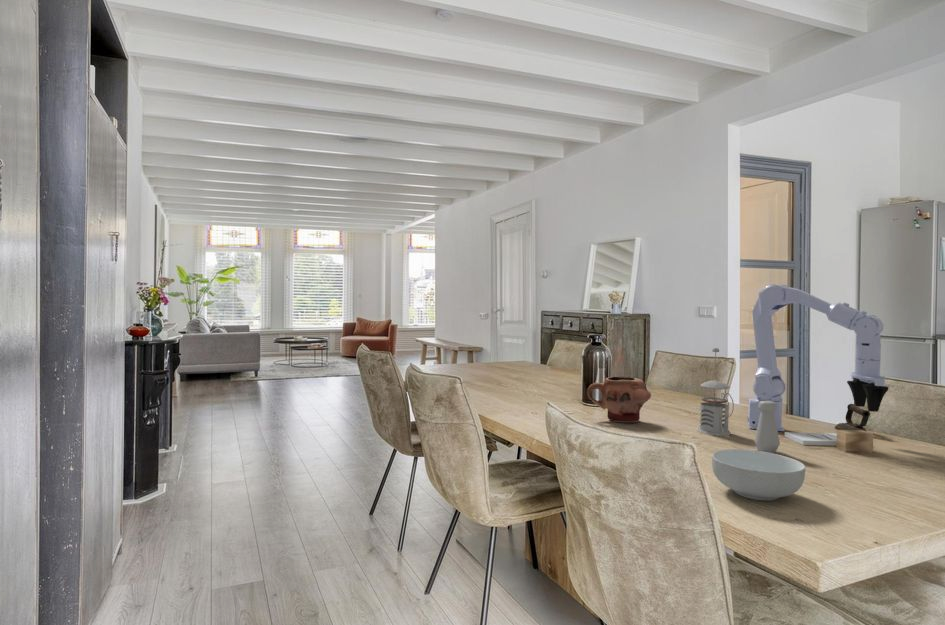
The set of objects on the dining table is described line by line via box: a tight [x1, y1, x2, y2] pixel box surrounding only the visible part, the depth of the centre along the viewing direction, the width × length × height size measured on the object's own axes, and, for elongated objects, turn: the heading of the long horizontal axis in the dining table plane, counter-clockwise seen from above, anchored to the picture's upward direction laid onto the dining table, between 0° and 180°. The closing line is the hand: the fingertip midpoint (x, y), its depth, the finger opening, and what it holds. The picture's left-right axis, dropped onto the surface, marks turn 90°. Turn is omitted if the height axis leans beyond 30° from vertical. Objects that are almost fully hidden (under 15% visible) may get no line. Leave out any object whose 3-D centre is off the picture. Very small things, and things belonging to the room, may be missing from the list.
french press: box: [696, 347, 735, 437], centre depth 172 cm, size 10×12×25 cm
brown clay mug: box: [586, 376, 652, 423], centre depth 188 cm, size 20×12×14 cm, turn 87°
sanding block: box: [835, 429, 874, 453], centre depth 154 cm, size 7×4×5 cm, turn 88°
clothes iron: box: [834, 403, 871, 432], centre depth 175 cm, size 7×11×10 cm, turn 174°
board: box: [784, 431, 837, 447], centre depth 163 cm, size 18×10×1 cm, turn 88°
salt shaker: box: [754, 401, 781, 454], centre depth 151 cm, size 6×6×13 cm
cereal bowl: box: [711, 448, 806, 501], centre depth 117 cm, size 17×17×7 cm
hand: (866, 408), depth 161 cm, fingers open, 7 cm apart
